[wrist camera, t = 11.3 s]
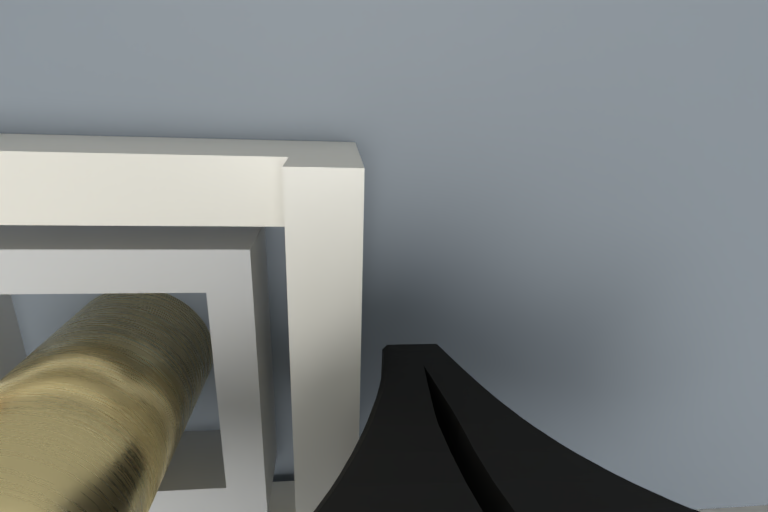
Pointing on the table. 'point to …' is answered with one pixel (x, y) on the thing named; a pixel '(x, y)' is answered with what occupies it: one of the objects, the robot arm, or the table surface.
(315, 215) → the frame
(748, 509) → the table surface
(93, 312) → the pin
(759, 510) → the table surface
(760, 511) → the table surface
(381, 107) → the base board
